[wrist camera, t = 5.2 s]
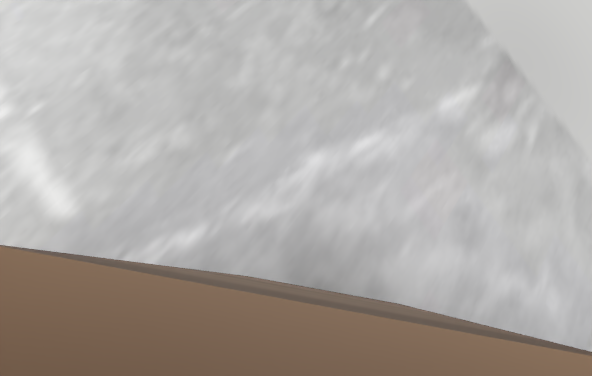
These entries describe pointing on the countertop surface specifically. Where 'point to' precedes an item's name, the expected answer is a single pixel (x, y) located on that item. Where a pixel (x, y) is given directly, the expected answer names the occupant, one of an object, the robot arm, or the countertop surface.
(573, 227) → the countertop surface
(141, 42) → the countertop surface
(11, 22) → the countertop surface
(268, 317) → the column
